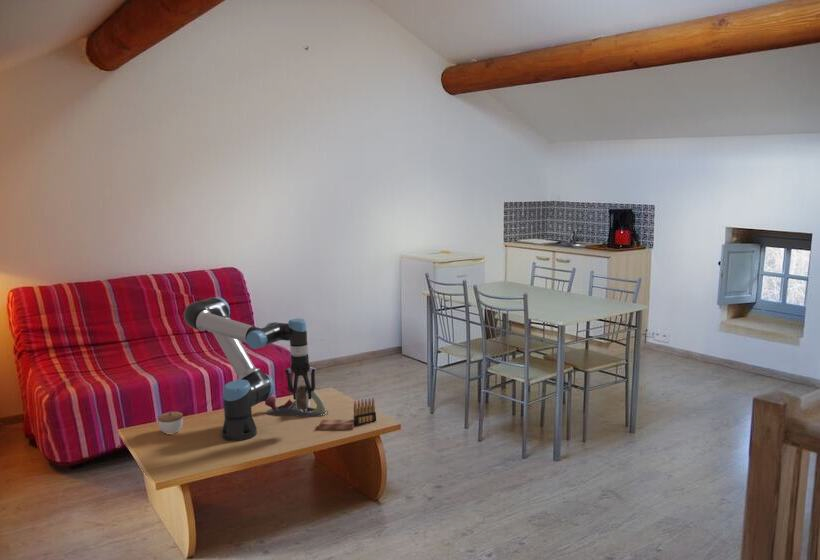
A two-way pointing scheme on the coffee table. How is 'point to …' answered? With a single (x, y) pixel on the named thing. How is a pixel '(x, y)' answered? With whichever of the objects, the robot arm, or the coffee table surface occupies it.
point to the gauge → (301, 397)
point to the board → (336, 424)
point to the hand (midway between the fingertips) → (303, 406)
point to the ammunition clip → (364, 412)
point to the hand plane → (292, 409)
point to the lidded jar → (170, 422)
